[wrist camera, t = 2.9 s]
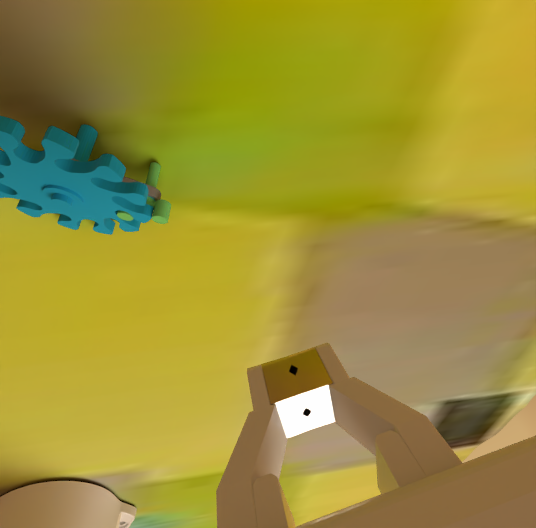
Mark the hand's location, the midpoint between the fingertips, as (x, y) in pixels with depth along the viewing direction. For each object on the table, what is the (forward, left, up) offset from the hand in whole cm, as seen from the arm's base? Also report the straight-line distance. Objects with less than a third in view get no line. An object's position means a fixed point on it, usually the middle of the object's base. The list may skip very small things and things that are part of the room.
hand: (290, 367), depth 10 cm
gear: (0, +11, -17) cm, 20 cm away
